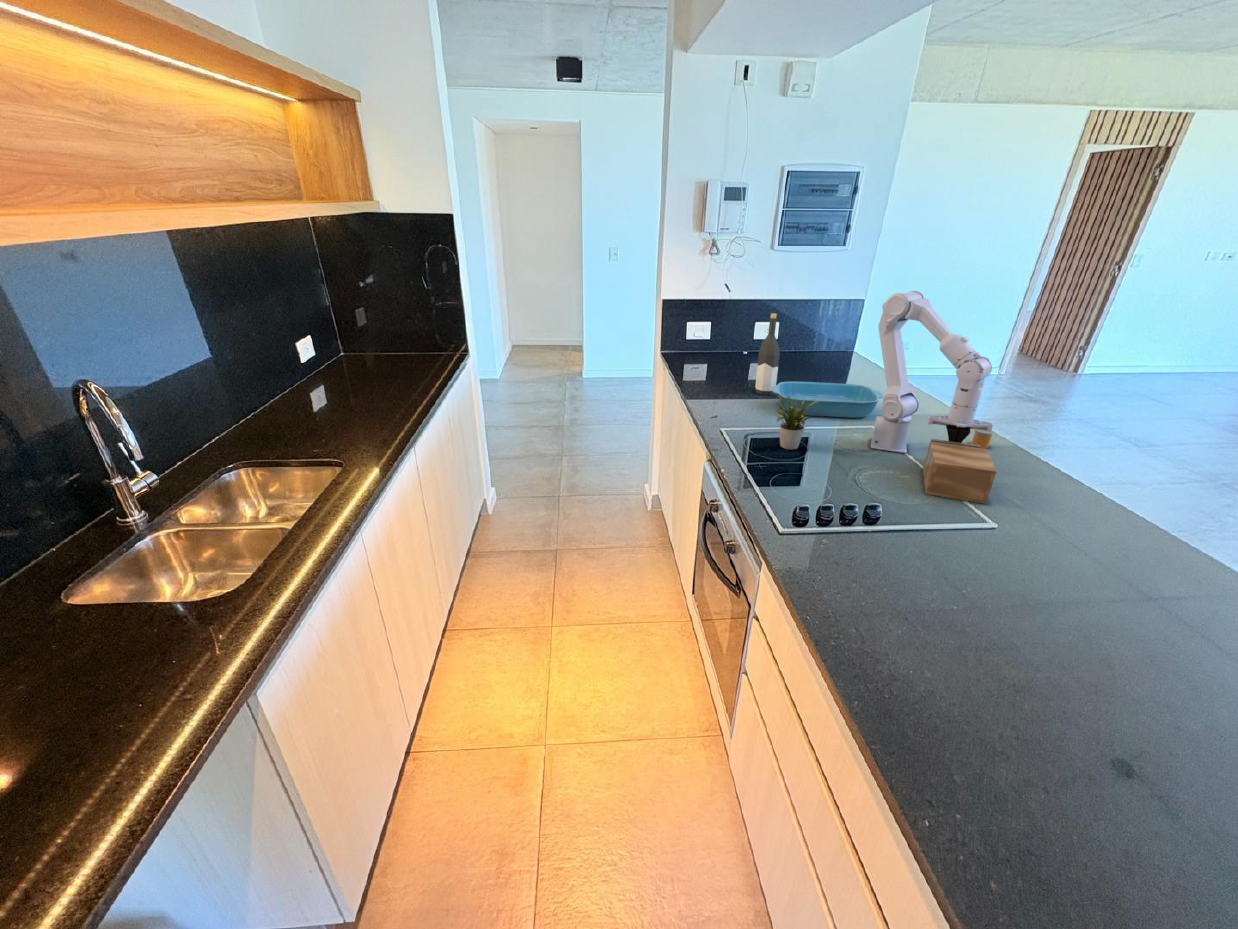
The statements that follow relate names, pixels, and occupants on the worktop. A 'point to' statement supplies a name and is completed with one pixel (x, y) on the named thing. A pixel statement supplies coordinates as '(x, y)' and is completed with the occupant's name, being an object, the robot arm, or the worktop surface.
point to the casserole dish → (829, 398)
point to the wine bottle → (768, 361)
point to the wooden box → (958, 472)
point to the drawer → (954, 443)
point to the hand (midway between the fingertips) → (951, 451)
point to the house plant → (792, 424)
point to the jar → (982, 438)
